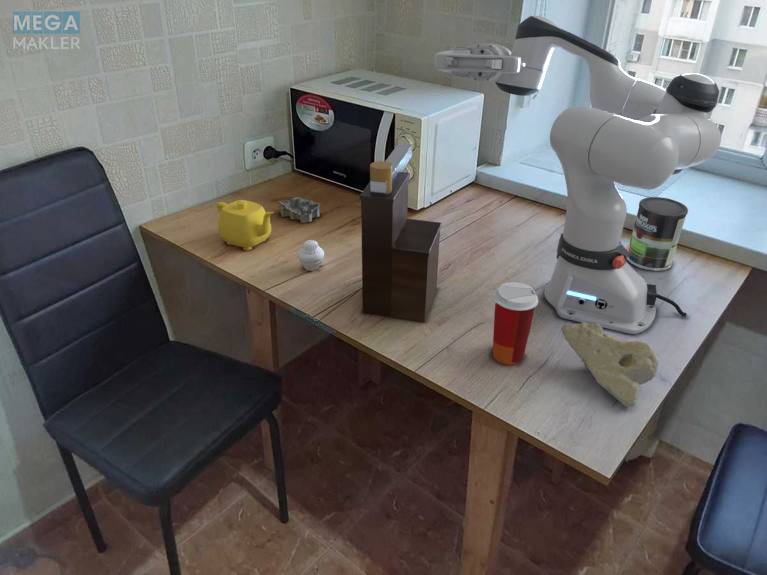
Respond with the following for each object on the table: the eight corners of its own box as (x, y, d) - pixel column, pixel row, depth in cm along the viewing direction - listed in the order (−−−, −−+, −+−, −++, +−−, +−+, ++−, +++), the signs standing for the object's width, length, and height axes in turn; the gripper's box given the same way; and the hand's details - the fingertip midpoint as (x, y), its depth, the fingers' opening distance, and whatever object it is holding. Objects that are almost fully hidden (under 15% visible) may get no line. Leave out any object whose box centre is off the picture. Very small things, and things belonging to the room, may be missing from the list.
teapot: (291, 242, 152) (288, 202, 146) (262, 260, 144) (257, 219, 138) (236, 225, 159) (231, 186, 154) (205, 242, 151) (199, 202, 146)
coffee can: (646, 274, 139) (661, 218, 132) (616, 254, 148) (629, 200, 140) (682, 266, 143) (698, 211, 135) (651, 247, 151) (665, 194, 143)
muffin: (329, 269, 140) (328, 242, 136) (305, 276, 137) (303, 249, 134) (317, 258, 145) (316, 232, 141) (293, 265, 142) (291, 238, 138)
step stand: (425, 323, 122) (431, 203, 109) (361, 313, 125) (359, 195, 111) (437, 288, 134) (444, 176, 120) (378, 280, 136) (378, 169, 123)
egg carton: (276, 215, 165) (274, 201, 163) (295, 205, 170) (294, 192, 168) (305, 225, 160) (304, 210, 158) (324, 215, 165) (323, 201, 163)
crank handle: (388, 195, 111) (389, 169, 109) (367, 193, 112) (367, 167, 110) (414, 156, 130) (415, 132, 127) (396, 154, 130) (396, 131, 128)
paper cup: (523, 342, 117) (533, 280, 110) (533, 368, 111) (544, 303, 103) (482, 343, 117) (490, 280, 109) (490, 369, 110) (498, 304, 103)
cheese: (664, 411, 104) (655, 326, 109) (662, 404, 98) (653, 315, 103) (571, 412, 110) (567, 332, 115) (564, 406, 104) (560, 321, 109)
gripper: (525, 78, 146) (512, 80, 135) (444, 74, 154) (425, 75, 142) (528, 50, 144) (516, 49, 132) (446, 47, 152) (427, 46, 140)
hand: (468, 63), depth 137 cm, fingers open, 8 cm apart
